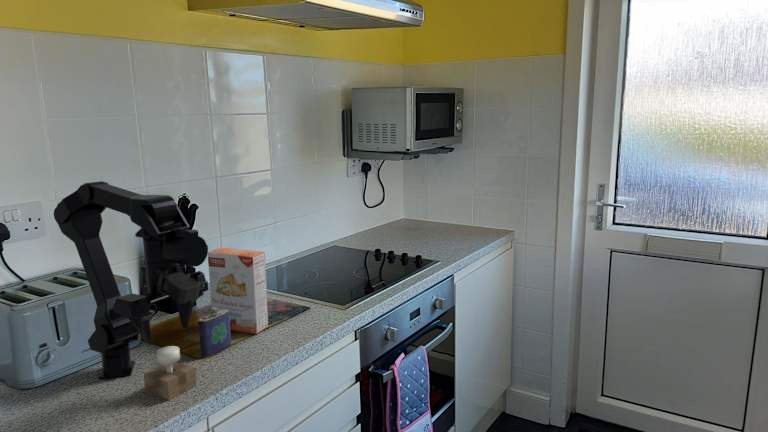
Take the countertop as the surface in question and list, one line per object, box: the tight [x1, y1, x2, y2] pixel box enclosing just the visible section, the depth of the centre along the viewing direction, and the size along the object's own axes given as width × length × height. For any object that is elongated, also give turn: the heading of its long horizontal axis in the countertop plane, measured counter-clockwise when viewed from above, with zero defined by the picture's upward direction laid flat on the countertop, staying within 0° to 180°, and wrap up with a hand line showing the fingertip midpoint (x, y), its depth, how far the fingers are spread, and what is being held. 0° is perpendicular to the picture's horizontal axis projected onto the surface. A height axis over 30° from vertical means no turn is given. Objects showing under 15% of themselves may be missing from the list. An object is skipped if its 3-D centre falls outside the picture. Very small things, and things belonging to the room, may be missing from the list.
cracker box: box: [207, 247, 269, 335], centre depth 145 cm, size 14×6×21 cm, turn 68°
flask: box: [197, 307, 232, 359], centre depth 132 cm, size 9×3×11 cm, turn 152°
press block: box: [143, 361, 197, 401], centre depth 114 cm, size 7×7×4 cm
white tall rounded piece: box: [156, 345, 181, 374], centre depth 114 cm, size 4×4×8 cm
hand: (167, 334), depth 112 cm, fingers open, 9 cm apart
